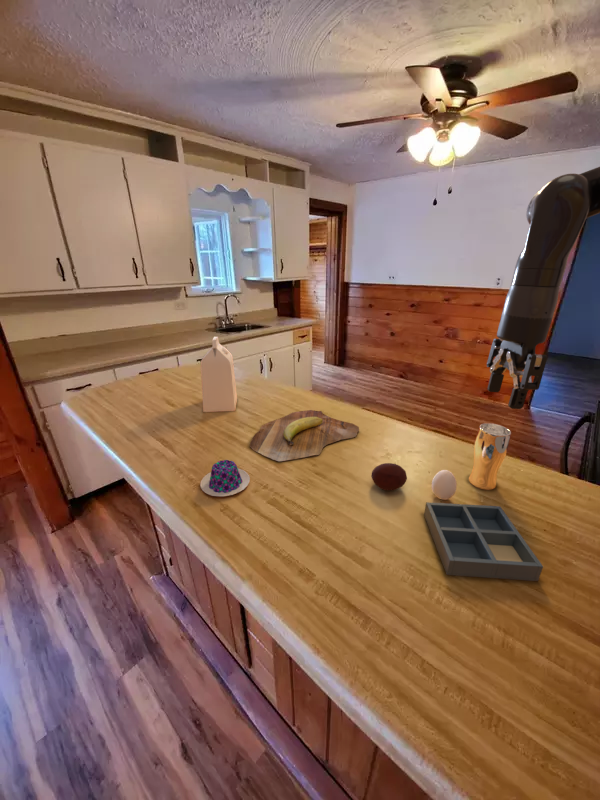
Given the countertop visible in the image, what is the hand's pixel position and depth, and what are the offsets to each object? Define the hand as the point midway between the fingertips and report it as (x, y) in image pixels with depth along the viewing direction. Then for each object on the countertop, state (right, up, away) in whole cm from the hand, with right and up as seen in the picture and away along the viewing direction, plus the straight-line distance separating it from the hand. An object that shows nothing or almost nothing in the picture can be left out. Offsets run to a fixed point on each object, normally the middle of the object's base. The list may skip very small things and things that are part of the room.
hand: (503, 399), depth 64 cm
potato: (-18, -22, +18) cm, 33 cm away
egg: (-6, -23, +14) cm, 28 cm away
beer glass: (+7, -21, +20) cm, 30 cm away
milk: (-70, -2, +65) cm, 96 cm away
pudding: (-58, -21, +19) cm, 64 cm away
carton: (-5, -28, +1) cm, 29 cm away
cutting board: (-38, -11, +44) cm, 59 cm away
